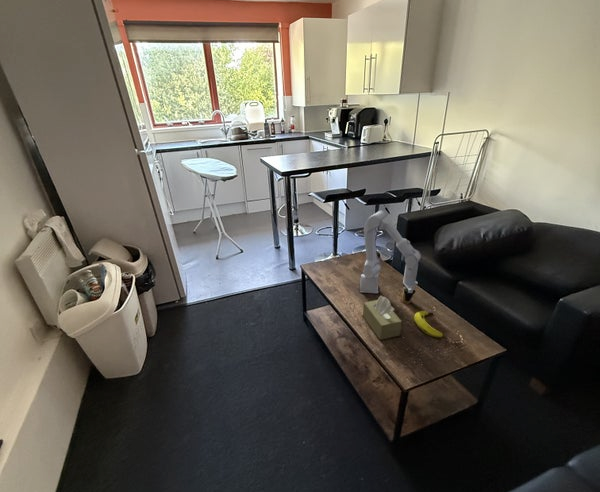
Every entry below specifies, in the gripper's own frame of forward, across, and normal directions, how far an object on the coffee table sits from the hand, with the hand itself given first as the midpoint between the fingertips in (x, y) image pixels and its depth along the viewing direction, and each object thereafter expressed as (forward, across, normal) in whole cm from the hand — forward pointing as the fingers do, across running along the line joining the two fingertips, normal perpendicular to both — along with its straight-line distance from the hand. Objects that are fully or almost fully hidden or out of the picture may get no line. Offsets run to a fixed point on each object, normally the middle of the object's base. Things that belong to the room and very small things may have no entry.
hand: (406, 297), depth 163 cm
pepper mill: (+2, 0, 0) cm, 2 cm away
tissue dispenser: (+3, -22, +14) cm, 26 cm away
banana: (+3, -19, -9) cm, 21 cm away
